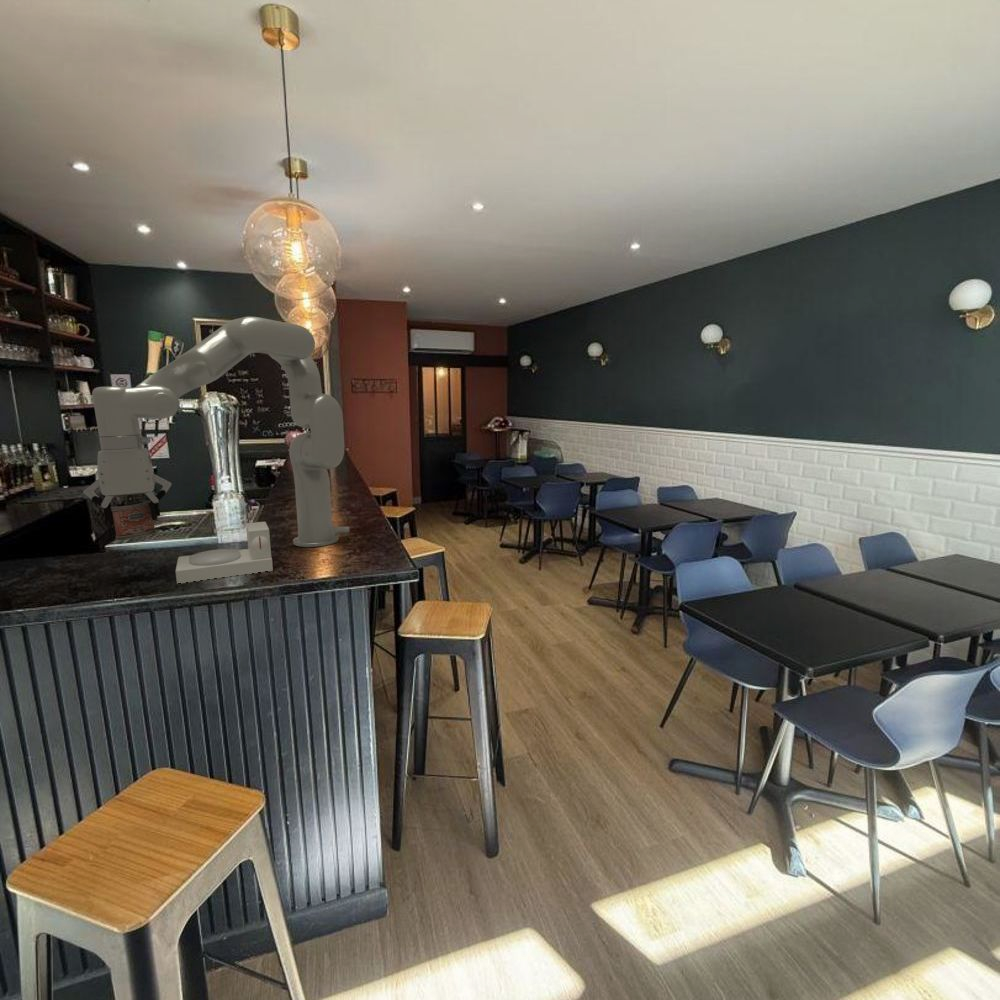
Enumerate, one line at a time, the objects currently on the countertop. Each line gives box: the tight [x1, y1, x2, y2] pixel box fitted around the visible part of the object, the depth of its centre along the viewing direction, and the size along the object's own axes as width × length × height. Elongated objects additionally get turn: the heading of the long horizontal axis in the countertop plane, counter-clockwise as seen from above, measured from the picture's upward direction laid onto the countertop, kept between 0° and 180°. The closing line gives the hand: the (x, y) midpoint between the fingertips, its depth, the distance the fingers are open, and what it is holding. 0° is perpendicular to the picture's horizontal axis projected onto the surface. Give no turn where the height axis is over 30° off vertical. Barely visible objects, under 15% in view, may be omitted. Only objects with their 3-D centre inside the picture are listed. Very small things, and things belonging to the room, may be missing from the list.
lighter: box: [111, 493, 157, 541], centre depth 121 cm, size 8×3×10 cm, turn 148°
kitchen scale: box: [175, 521, 274, 585], centre depth 130 cm, size 20×13×10 cm, turn 118°
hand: (134, 521), depth 121 cm, fingers closed on lighter, 7 cm apart
